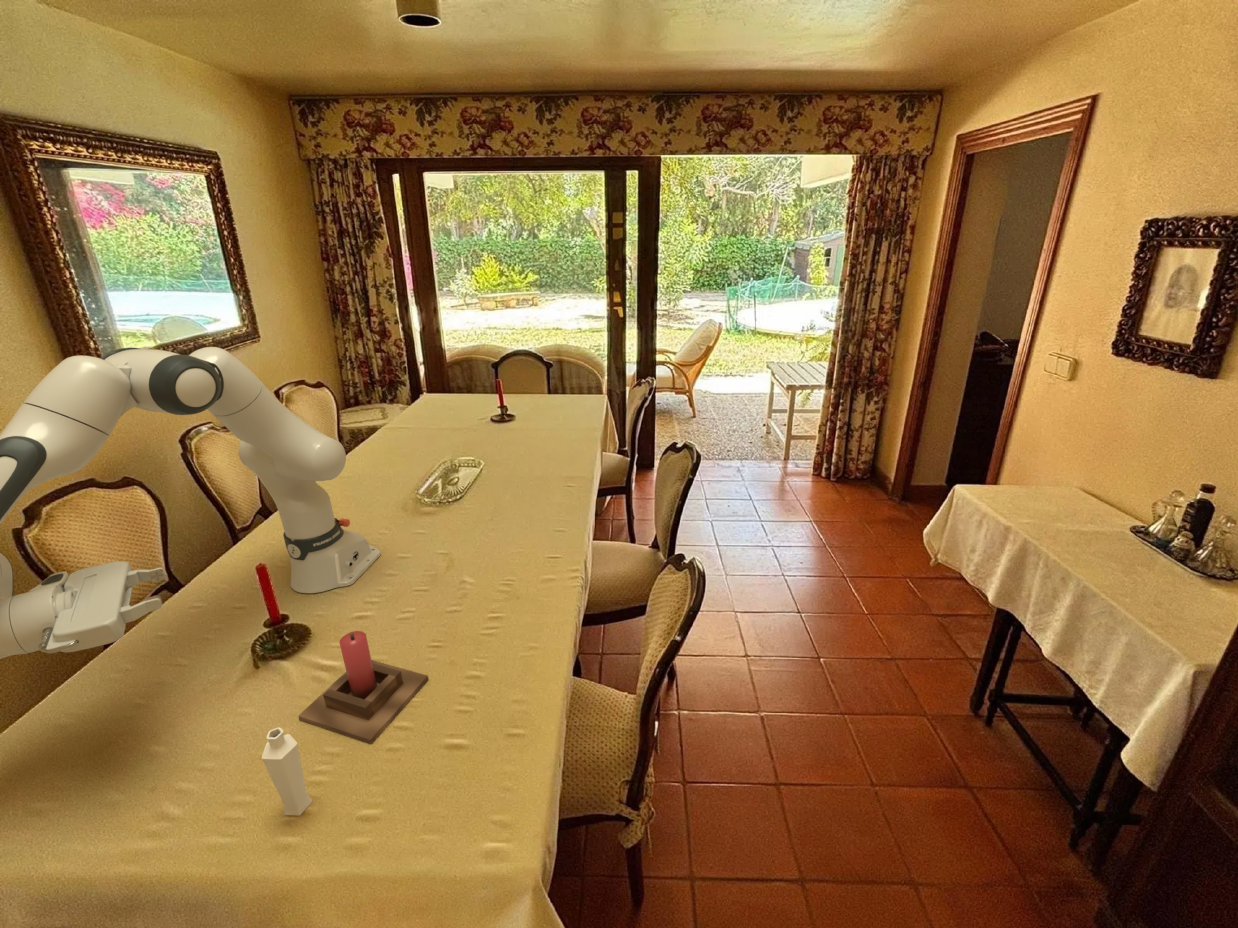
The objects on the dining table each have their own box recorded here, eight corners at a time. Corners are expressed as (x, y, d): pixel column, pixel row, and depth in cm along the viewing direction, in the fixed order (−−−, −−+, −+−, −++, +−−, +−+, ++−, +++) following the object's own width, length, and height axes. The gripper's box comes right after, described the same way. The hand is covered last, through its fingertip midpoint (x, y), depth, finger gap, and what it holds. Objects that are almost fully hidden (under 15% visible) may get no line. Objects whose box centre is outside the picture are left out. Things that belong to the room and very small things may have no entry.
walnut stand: (362, 660, 118) (359, 645, 116) (428, 679, 113) (425, 663, 112) (299, 719, 104) (294, 703, 103) (371, 744, 99) (367, 726, 98)
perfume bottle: (274, 807, 89) (250, 736, 83) (303, 787, 92) (281, 716, 86) (288, 825, 86) (264, 752, 80) (318, 803, 89) (296, 732, 83)
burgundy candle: (358, 686, 110) (344, 626, 105) (381, 685, 110) (368, 626, 105) (349, 703, 106) (334, 643, 101) (373, 703, 106) (359, 642, 101)
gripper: (25, 637, 78) (152, 602, 85) (54, 568, 94) (159, 543, 101) (43, 674, 81) (165, 637, 88) (69, 600, 96) (170, 574, 103)
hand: (162, 586), depth 94 cm, fingers open, 8 cm apart
